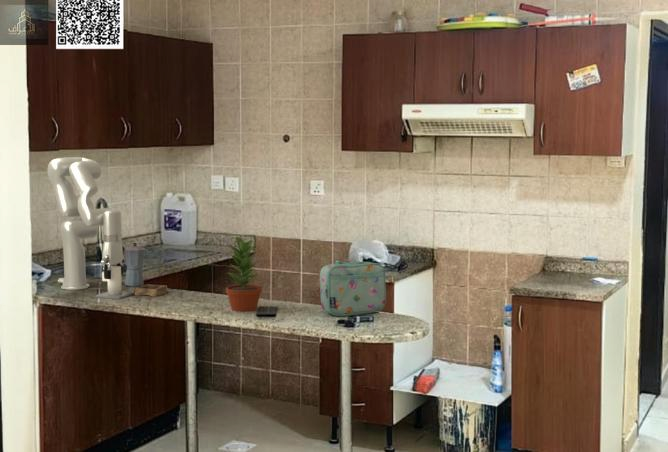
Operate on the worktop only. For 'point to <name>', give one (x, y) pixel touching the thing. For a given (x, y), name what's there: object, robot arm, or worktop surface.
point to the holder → (151, 290)
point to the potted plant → (243, 279)
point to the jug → (114, 281)
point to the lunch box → (352, 288)
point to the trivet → (105, 295)
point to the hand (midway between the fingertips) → (113, 277)
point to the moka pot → (134, 265)
